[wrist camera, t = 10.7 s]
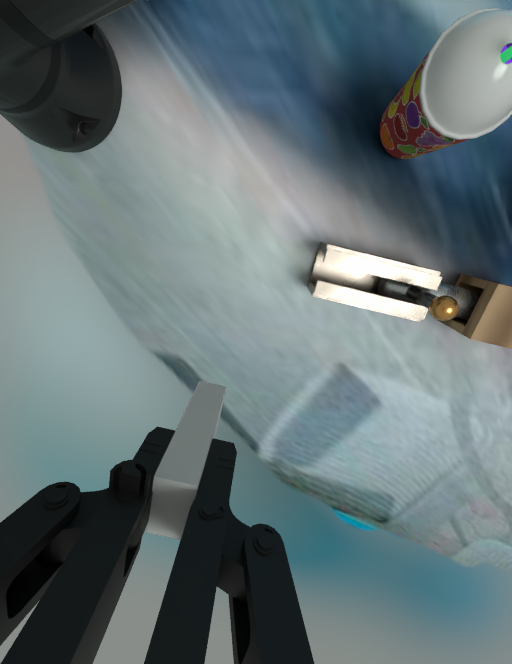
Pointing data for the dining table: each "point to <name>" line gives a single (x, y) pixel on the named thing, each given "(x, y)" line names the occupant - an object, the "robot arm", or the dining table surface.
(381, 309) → the outer sleeve
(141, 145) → the dining table surface
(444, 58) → the smoothie
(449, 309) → the ball knob lever
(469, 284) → the socket block
